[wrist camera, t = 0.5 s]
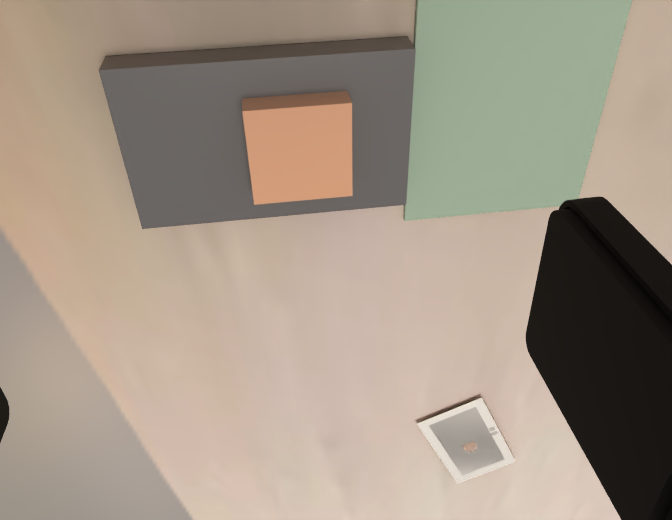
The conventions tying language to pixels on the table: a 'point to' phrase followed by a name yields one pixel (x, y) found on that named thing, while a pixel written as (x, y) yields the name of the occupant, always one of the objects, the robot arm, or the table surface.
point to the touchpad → (467, 440)
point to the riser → (228, 126)
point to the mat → (507, 101)
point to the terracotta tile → (299, 146)
